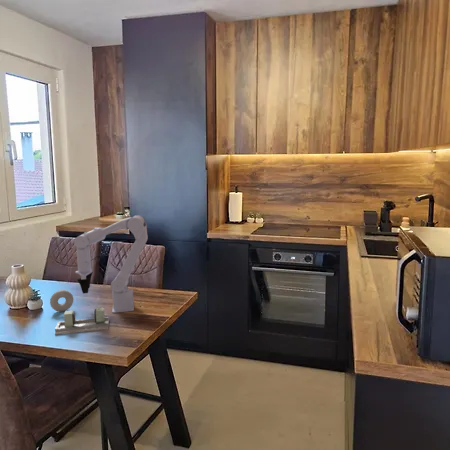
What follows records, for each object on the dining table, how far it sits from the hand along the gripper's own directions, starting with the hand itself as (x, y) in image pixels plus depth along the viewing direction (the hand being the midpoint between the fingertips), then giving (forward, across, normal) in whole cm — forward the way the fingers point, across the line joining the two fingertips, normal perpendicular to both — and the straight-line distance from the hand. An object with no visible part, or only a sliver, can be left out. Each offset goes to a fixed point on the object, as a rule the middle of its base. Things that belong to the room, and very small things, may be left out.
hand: (86, 290), depth 181 cm
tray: (+9, +20, 0) cm, 22 cm away
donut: (+10, -2, -11) cm, 15 cm away
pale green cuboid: (+8, +20, -5) cm, 22 cm away
